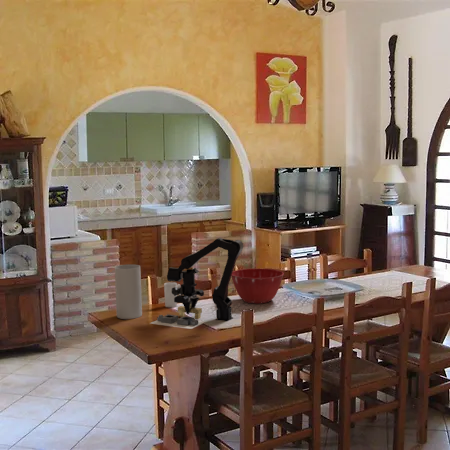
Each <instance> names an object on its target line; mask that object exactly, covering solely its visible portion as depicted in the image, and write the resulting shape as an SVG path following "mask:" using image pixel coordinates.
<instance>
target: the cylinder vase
mask: <svg viewBox="0 0 450 450" xmlns="http://www.w3.org/2000/svg"><path fill="white" fill-rule="evenodd" d="M141 273H142V272H141V265H139V264H121V265H120V264H119V265H116V266H114V279H115V280H114V282H115V283H114V284H115V289H114V290H115V310H116V312H115V313H116V318H118V319H119V320H131V319H132V320H133V319H138V318H140V317H142V316H143V305H142V303H143V301H142V277H141V275H142V274H141Z"/></svg>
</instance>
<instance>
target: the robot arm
mask: <svg viewBox="0 0 450 450" xmlns="http://www.w3.org/2000/svg"><path fill="white" fill-rule="evenodd" d="M218 248H221V249H223V250H226V251H227V260H226V263H225V266H224V269H223V273H222V276H221V280H220V282H219V285H217V286H216V287H214V289H213V293H212V295H211V297H212V299H211V300H212V302H213V304H214V305H215V307H216V310H215V312H216V313H215V314H216V319H215V321H222V322H229V321H231V320H233V319H234V317H233V316H232V313H233V311H232V303H233V301H232V299H231V298H230V297H229V285H230V281H231V280H232V272H233V271H234V269H235V266H236V263H237V260H238V258H239V257H240V255H241V253H242V251H243V249H244V242H243V241H241V240H240V239H235V240H233V239H227V238H222V237H218V238H216V239H214V240H213V241H212V242H210V243H208V244H207V245H206V246H204V247H203V248H201V249H199V250H198V251H197V252H194V253H191V254H189V255H187V256H185V257H183V258H182V259H181V261H180V265H179V266H178V267H173V266H170V267H168V270H167V275H166V279H167V282H181V280H182V284H180V286H181V287H180V288H176V287H174V288H172V294H173V295H174V296H176V295H177V296H176V297H175V298H174V302H177V304H178V303H179V304H182V306H184V308H185V310H186V312H185V314H186V315H190V314H191V313H190V309H191V307H195V308H196V305H197V303H198V301H199V300H200V297H203V296H205V291H204V290H203V289H196V287H197V282H195V281H196V280H195V279H196V278H195V277H196V276H195V274H198V273H199V272H200V271H199V270H198V268H196V267H194V266H195V265H196V264H198V263H199V262H200V260H202V259H203V258H204V257H206V256H207V255H209V254H210V253H212V252H213V251H215V250H216V249H218ZM193 267H194V268H193ZM191 268H192V269H191ZM179 294H181V295H179ZM198 296H200V297H198Z"/></svg>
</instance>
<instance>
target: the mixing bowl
mask: <svg viewBox="0 0 450 450" xmlns="http://www.w3.org/2000/svg"><path fill="white" fill-rule="evenodd" d="M283 277H284V272H283V271H281V270H279V269H271V268H244V269H243V268H242V269H241V268H240V269H236V270H233V272H232V276H231V280H232V283H233V285H234V288H235V291H236V292H237V294H238V296H239V298H240V299H241V300H243V301H244V302H245V303H249V304H257V305H258V304H266V303H267V304H268V303H269V302H271V301H272V300H273V299H274V298H275V297H276V295H277V293H278V291H279V289H280V287H281V284H282V280H283Z"/></svg>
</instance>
